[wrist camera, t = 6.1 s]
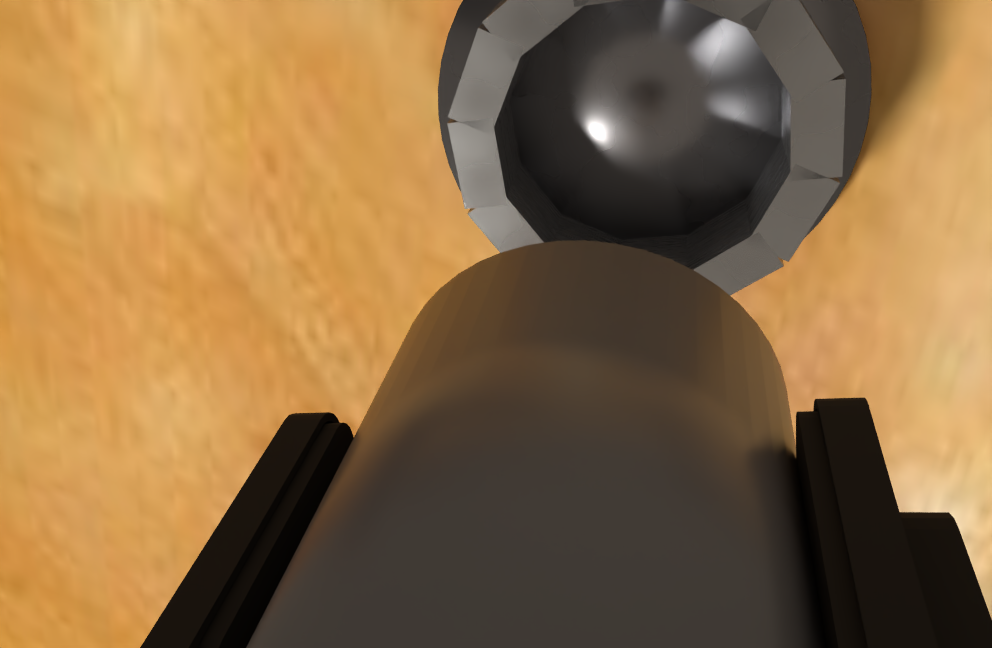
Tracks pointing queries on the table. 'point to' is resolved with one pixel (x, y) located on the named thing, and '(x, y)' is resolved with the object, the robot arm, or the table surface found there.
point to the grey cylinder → (564, 474)
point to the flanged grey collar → (656, 124)
